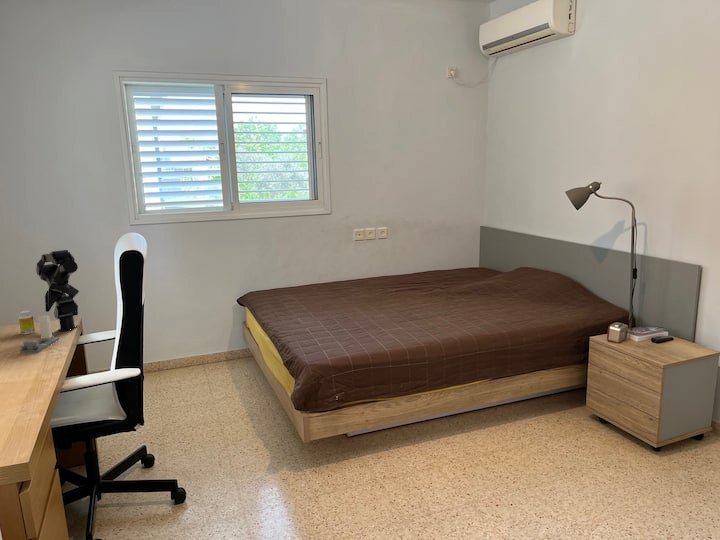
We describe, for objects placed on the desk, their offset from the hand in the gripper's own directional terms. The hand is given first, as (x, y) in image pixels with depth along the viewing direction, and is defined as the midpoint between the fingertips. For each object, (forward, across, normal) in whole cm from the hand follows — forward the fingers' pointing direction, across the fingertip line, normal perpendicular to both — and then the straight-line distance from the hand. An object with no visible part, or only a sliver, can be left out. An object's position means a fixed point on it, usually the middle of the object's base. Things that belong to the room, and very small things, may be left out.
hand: (48, 309), depth 219 cm
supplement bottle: (+8, +23, +3) cm, 25 cm away
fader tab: (+12, +2, -4) cm, 13 cm away
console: (+16, -2, -3) cm, 16 cm away
